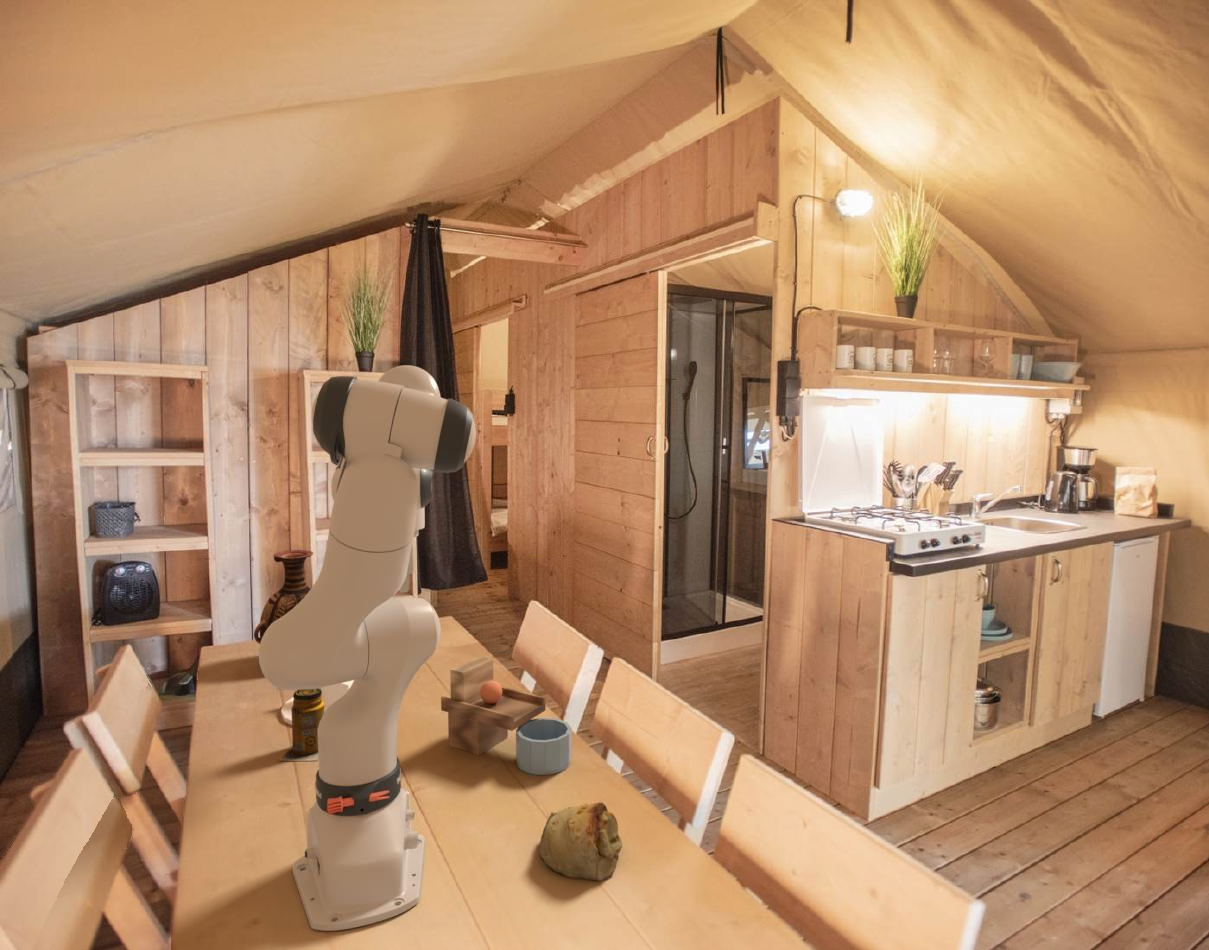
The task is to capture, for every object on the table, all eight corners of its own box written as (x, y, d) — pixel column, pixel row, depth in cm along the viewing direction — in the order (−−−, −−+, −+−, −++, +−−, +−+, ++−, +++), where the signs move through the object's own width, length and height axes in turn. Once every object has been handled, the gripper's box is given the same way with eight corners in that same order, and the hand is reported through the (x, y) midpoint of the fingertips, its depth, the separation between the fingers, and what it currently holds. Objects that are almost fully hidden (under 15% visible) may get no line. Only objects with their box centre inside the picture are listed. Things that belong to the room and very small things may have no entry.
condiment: (332, 741, 144) (331, 684, 143) (317, 761, 136) (315, 701, 135) (296, 741, 144) (294, 684, 143) (279, 761, 136) (276, 701, 135)
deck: (441, 746, 142) (441, 697, 141) (477, 726, 151) (476, 680, 150) (512, 769, 133) (511, 717, 132) (545, 746, 142) (545, 697, 141)
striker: (450, 703, 141) (450, 669, 141) (480, 688, 149) (480, 656, 148) (464, 707, 139) (463, 672, 139) (493, 691, 147) (492, 659, 147)
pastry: (634, 876, 102) (634, 824, 102) (550, 893, 99) (550, 838, 98) (606, 823, 116) (606, 776, 115) (531, 836, 112) (531, 788, 111)
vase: (330, 645, 204) (327, 543, 201) (346, 664, 189) (343, 554, 187) (248, 660, 192) (244, 551, 189) (259, 680, 177) (254, 563, 175)
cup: (578, 769, 133) (578, 736, 132) (525, 779, 129) (525, 745, 128) (560, 745, 142) (560, 714, 142) (511, 754, 138) (510, 723, 138)
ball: (504, 705, 140) (504, 683, 140) (482, 708, 139) (482, 686, 138) (499, 697, 144) (499, 676, 144) (478, 700, 143) (477, 679, 142)
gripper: (421, 528, 135) (421, 598, 137) (416, 511, 155) (416, 573, 156) (386, 529, 133) (387, 600, 135) (386, 512, 153) (387, 575, 154)
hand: (403, 585), depth 146 cm, fingers open, 8 cm apart
